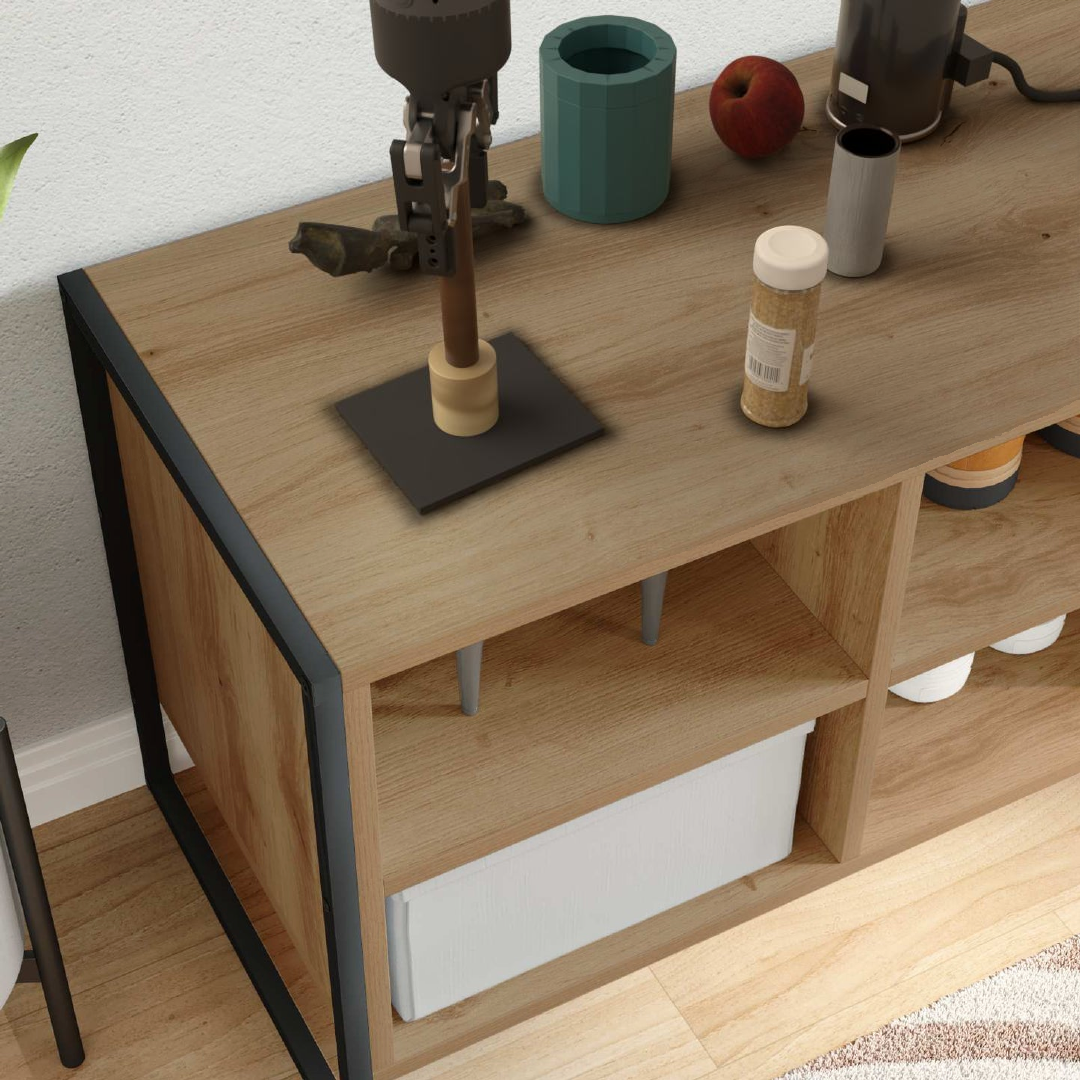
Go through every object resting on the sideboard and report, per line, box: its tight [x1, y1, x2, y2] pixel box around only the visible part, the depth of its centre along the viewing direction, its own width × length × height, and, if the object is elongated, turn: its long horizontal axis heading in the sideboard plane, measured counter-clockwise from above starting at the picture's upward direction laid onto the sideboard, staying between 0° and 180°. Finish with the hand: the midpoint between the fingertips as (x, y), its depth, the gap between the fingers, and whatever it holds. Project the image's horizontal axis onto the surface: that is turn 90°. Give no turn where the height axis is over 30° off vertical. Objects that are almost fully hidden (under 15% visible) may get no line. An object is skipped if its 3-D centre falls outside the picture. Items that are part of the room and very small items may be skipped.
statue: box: [287, 179, 527, 278], centre depth 117 cm, size 6×6×20 cm
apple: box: [708, 54, 806, 159], centre depth 125 cm, size 7×8×8 cm
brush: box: [428, 161, 499, 437], centre depth 99 cm, size 4×4×19 cm
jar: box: [538, 14, 678, 225], centre depth 120 cm, size 10×10×12 cm
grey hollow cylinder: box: [821, 123, 902, 278], centre depth 114 cm, size 4×4×10 cm
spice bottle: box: [740, 224, 829, 428], centre depth 102 cm, size 5×5×13 cm
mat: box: [334, 331, 605, 516], centre depth 106 cm, size 14×12×1 cm
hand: (455, 236), depth 95 cm, fingers open, 6 cm apart
